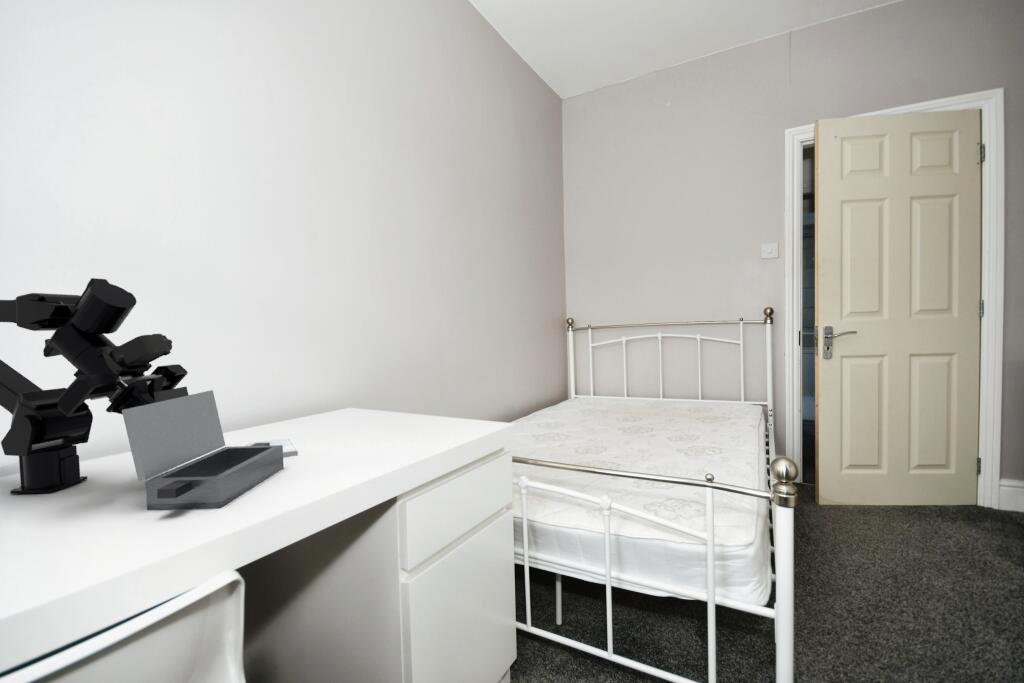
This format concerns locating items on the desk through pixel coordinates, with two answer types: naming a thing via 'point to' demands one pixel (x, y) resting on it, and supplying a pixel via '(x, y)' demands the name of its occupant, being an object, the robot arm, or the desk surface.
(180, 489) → the grey hinged box
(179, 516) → the desk surface
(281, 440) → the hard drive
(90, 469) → the desk surface
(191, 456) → the box lid
